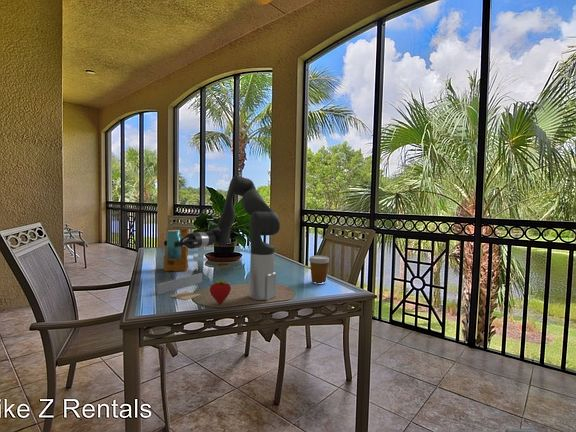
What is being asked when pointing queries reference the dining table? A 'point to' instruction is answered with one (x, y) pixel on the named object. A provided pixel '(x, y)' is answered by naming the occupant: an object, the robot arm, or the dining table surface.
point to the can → (171, 249)
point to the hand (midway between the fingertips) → (169, 243)
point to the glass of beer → (319, 268)
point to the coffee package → (179, 263)
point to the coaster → (185, 295)
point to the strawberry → (220, 290)
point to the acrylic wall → (178, 283)
